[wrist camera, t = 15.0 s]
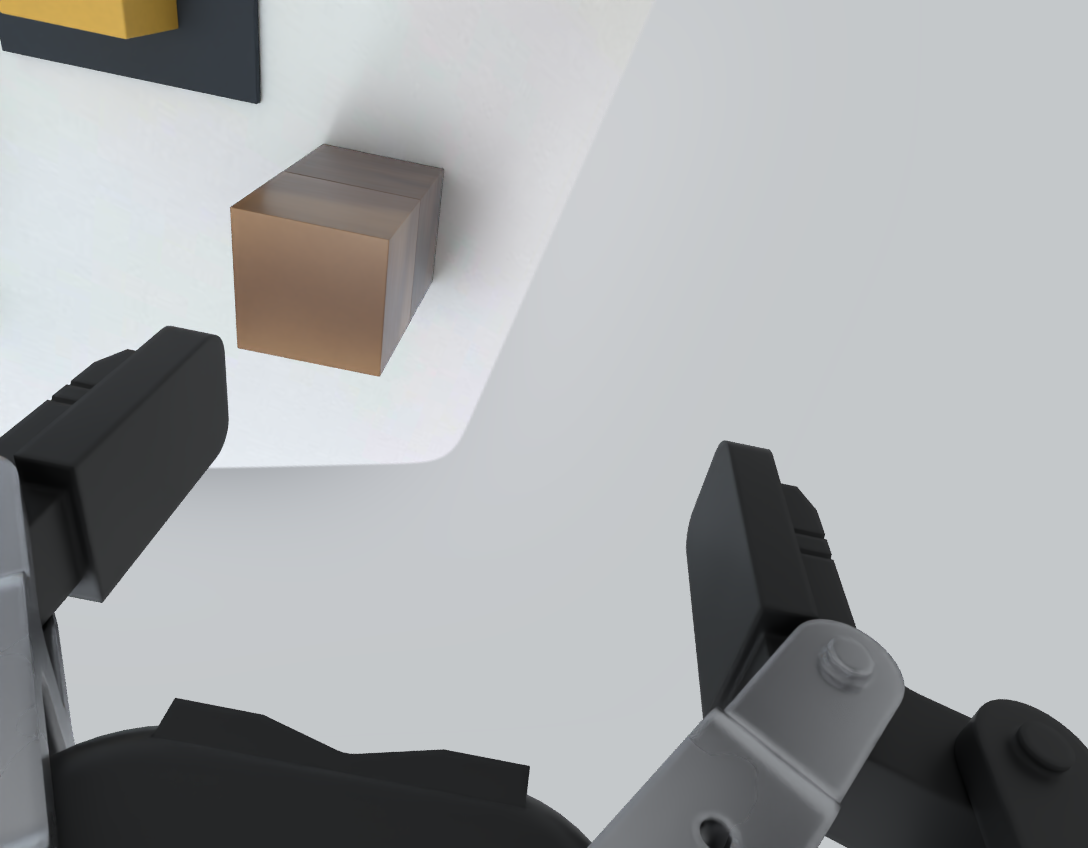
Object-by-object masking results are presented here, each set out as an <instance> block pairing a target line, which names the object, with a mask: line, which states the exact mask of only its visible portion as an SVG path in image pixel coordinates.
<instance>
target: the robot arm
mask: <svg viewBox="0 0 1088 848" xmlns="http://www.w3.org/2000/svg"><path fill="white" fill-rule="evenodd" d="M228 421H229V417H228V400H227V383H226V367H225V352H224V345H223V342H222V340H221V338H220V337H219V336H217V335H213V334H208V333H203V332H198V331H193V330H188V329H184V328H179V327H174V326H166V327H164V328H163V329H161V330H160V331H159V332H158V333H157V334H155V335H154V336H153V337H152V338H151V339H149V340H148V341H147V342H146V343H145V344H144V345H142V346H141V347H140V348H139V349H138V350H136V351H134V350H129V349H127V350H124V351H122V352H119V353H117V354H114V355H112V356H109V357H106V358H104V359H101V360H99V361H96V362H94V363H93V364H91V365H90V366H89V367H88V368H86V369H85V370H84V371H83V372H82V373H80V374H79V375H78V376H77V377H75V378H74V379H73V380H72V381H71V384H70V385H65V386H64V387H63V388H62V389H60V390H59V391H58V392H57V393H55V394H54V395H53V396H52V400H51V401H50V400H47V401H45V402H44V403H43V404H42V405H40V406H39V407H38V408H37V409H35V410H34V411H33V412H32V413H30V414H29V415H28V416H27V417H25V418H24V419H23V420H22V421H20V422H19V423H18V424H17V425H15V426H14V427H13V428H12V429H10V430H9V431H8V432H7V433H5V434H4V435H3V436H2V437H0V848H818V846H819V845H820V843H821V841H822V840H823V838H824V836H826V837H828V838H830V839H832V840H834V841H836V842H838V843H840V844H841V845H843V846H845V847H847V848H1088V749H1087V747H1086V746H1085V745H1084V744H1083V743H1082V742H1081V741H1080V740H1079V739H1078V738H1077V737H1076V736H1075V735H1074V734H1073V733H1072V732H1071V731H1070V730H1069V729H1067V728H1066V727H1065V726H1063V725H1062V724H1061V723H1060V722H1058V721H1057V720H1055V719H1054V718H1052V717H1051V716H1049V715H1048V714H1046V713H1044V712H1042V711H1040V710H1038V709H1036V708H1034V707H1032V706H1029V705H1027V704H1024V703H1020V702H1017V701H1012V700H1003V699H998V700H992V701H989V702H987V703H985V704H984V705H983V706H982V707H981V708H980V709H979V710H978V711H977V712H976V714H975V715H974V716H973V717H972V718H970V717H968V716H966V715H963V714H961V713H959V712H957V711H954V710H952V709H950V708H948V707H946V706H944V705H941V704H939V703H937V702H935V701H932V700H931V699H928V698H926V697H924V696H922V695H920V694H918V693H916V692H914V691H912V690H910V689H909V688H907V687H905V686H904V680H903V677H902V674H901V671H900V670H899V668H898V666H897V664H896V662H895V661H894V660H893V658H892V657H891V656H890V654H889V653H887V651H886V650H885V649H884V648H883V647H882V646H881V645H880V644H879V643H878V642H876V641H875V640H874V639H872V638H871V637H869V636H868V635H867V634H865V633H863V632H862V631H860V630H858V629H856V626H855V623H854V620H853V617H852V614H851V611H850V608H849V605H848V602H847V599H846V596H845V593H844V591H843V587H842V584H841V581H840V578H839V575H838V572H837V569H836V566H835V563H834V560H831V555H832V554H831V551H830V548H829V545H828V542H827V540H826V539H824V536H825V533H824V530H823V527H822V524H821V522H820V518H819V516H818V513H817V510H816V509H815V508H814V507H813V505H812V504H811V503H810V502H809V501H808V500H807V498H806V497H805V496H804V495H803V494H802V492H801V491H800V490H799V489H798V487H796V486H790V485H786V484H781V482H780V479H779V475H778V472H777V469H776V465H775V461H774V458H773V455H772V452H771V451H770V450H769V449H764V448H759V447H754V446H749V445H744V444H740V443H735V442H730V441H722V442H721V443H720V444H719V446H718V448H717V450H716V452H715V455H714V457H713V460H712V462H711V465H710V468H709V470H708V473H707V475H706V478H705V481H704V483H703V486H702V489H701V491H700V494H699V496H698V499H697V501H696V504H695V507H694V510H693V512H692V515H691V519H690V522H689V527H688V532H687V541H686V553H687V563H688V573H689V583H690V592H691V603H692V613H693V622H694V633H695V643H696V652H697V662H698V672H699V682H700V692H701V702H702V712H703V720H702V721H701V722H700V723H699V724H698V725H697V726H696V728H695V729H694V730H693V731H692V732H691V733H690V734H689V735H688V736H687V738H686V739H685V740H684V741H683V742H682V743H681V744H680V745H679V746H678V748H677V749H676V750H675V751H674V752H673V753H672V754H671V755H670V757H669V758H668V759H667V760H666V761H665V762H664V763H663V764H662V766H660V768H659V769H658V770H657V771H656V772H655V773H654V774H653V775H652V776H651V778H650V779H649V780H648V781H647V782H646V783H645V784H644V785H643V786H642V788H641V789H640V790H639V791H638V792H637V793H636V794H635V795H634V796H633V798H632V799H631V800H630V801H629V802H628V803H627V804H626V805H625V806H624V808H623V809H622V810H621V811H620V812H619V813H618V814H617V815H616V816H615V818H614V819H613V820H612V821H611V822H610V823H609V824H608V825H607V826H606V828H605V829H604V830H603V831H602V832H601V833H600V834H599V835H598V836H597V838H596V839H595V840H594V841H593V842H591V841H590V840H589V839H588V838H587V837H586V836H585V835H584V834H583V833H582V832H581V831H580V830H579V829H578V828H577V827H576V826H574V825H573V824H572V823H571V822H569V821H568V820H567V819H566V818H565V817H563V816H562V815H561V814H559V813H558V812H556V811H555V810H553V809H552V808H550V807H549V806H547V805H546V804H544V803H542V802H541V801H539V800H537V799H535V798H533V797H531V796H529V795H527V787H528V777H529V770H530V766H527V765H521V764H516V763H511V762H506V761H501V760H495V759H490V758H485V757H480V756H474V755H469V754H464V753H459V752H454V751H449V750H426V751H406V752H386V753H368V754H367V753H366V754H348V753H343V752H340V751H337V750H335V749H333V748H331V747H329V746H327V745H325V744H323V743H321V742H319V741H316V740H314V739H312V738H310V737H308V736H306V735H304V734H302V733H300V732H298V731H296V730H294V729H292V728H290V727H287V726H285V725H283V724H281V723H279V722H277V721H275V720H273V719H271V718H269V717H267V716H265V715H261V714H256V713H251V712H246V711H240V710H235V709H230V708H225V707H220V706H215V705H210V704H204V703H199V702H194V701H189V700H183V699H178V698H175V699H174V701H173V702H172V704H171V706H170V707H169V709H168V711H167V713H166V714H165V716H164V718H163V719H162V721H161V723H160V725H159V726H148V727H142V728H135V729H129V730H123V731H119V732H115V733H111V734H107V735H103V736H99V737H96V738H94V739H91V740H88V741H85V742H82V743H79V744H76V745H75V743H74V737H73V732H72V726H71V718H70V711H69V704H68V697H67V689H66V682H65V674H64V667H63V660H62V653H61V645H60V638H59V631H58V624H57V621H56V617H55V613H54V612H55V611H56V610H57V608H58V607H59V606H60V605H61V604H62V602H63V601H64V600H65V599H66V598H67V596H70V597H75V598H80V599H85V600H90V601H96V602H100V603H102V602H103V601H104V600H105V599H106V597H107V596H108V595H109V593H110V592H111V591H112V590H113V588H114V587H115V586H116V585H117V583H118V582H119V581H120V580H121V578H122V577H123V576H124V574H125V573H126V572H127V571H128V569H129V568H130V567H131V566H132V564H133V563H134V562H135V560H136V559H137V558H138V557H139V555H140V554H141V553H142V552H143V550H144V549H145V548H146V546H147V545H148V544H149V543H150V541H151V540H152V539H153V537H154V536H155V535H156V534H157V532H158V531H159V530H160V528H161V527H162V526H163V525H164V524H165V522H166V521H167V520H168V518H169V517H170V516H171V515H172V513H173V512H174V511H175V510H176V508H177V507H178V506H179V504H180V503H181V502H182V501H183V499H184V498H185V497H186V495H187V494H188V493H189V492H190V490H191V489H192V488H193V486H194V485H195V484H196V483H197V481H198V480H199V479H200V478H201V476H202V475H203V474H204V473H205V471H206V470H207V469H208V467H209V466H210V465H211V464H212V462H213V461H214V460H215V459H216V457H217V456H218V454H219V453H220V451H221V449H222V447H223V444H224V442H225V438H226V435H227V430H228Z"/></svg>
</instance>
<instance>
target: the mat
mask: <svg viewBox="0 0 1088 848" xmlns="http://www.w3.org/2000/svg"><path fill="white" fill-rule="evenodd" d="M176 3H177V15H178V29H174V30H169V31H164V32H159V33H154V34H149V35H144V36H139V37H134V38H129V39H122V38H118V37H113V36H108V35H103V34H99V33H94V32H89V31H84V30H80V29H75V28H70V27H65V26H61V25H56V24H51V23H46V22H42V21H37V20H32V19H27V18H23V17H18V16H13V15H8V14H4V13H1V12H0V40H1V45H2V50H3V51H7V52H12V53H17V54H21V55H26V56H31V57H36V58H40V59H45V60H50V61H55V62H59V63H64V64H69V65H74V66H79V67H83V68H88V69H93V70H98V71H102V72H107V73H112V74H117V75H121V76H126V77H131V78H136V79H140V80H145V81H150V82H155V83H159V84H164V85H169V86H174V87H178V88H183V89H188V90H193V91H197V92H202V93H207V94H212V95H217V96H221V97H226V98H231V99H236V100H240V101H245V102H250V103H255V104H258V103H260V73H259V37H258V0H176Z"/></svg>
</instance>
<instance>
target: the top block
mask: <svg viewBox="0 0 1088 848" xmlns="http://www.w3.org/2000/svg"><path fill="white" fill-rule="evenodd" d="M0 12H1V13H4V14H8V15H13V16H18V17H23V18H27V19H32V20H37V21H42V22H46V23H51V24H56V25H61V26H65V27H70V28H75V29H80V30H84V31H89V32H94V33H99V34H103V35H108V36H113V37H118V38H122V39H129V38H134V37H139V36H144V35H149V34H154V33H159V32H164V31H169V30H174V29H178V15H177V3H176V0H0Z"/></svg>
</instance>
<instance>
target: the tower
mask: <svg viewBox="0 0 1088 848" xmlns="http://www.w3.org/2000/svg"><path fill="white" fill-rule="evenodd" d="M443 175H444V170H443V169H440V168H436V167H431V166H426V165H421V164H417V163H412V162H407V161H402V160H397V159H393V158H388V157H383V156H378V155H374V154H369V153H364V152H359V151H354V150H350V149H345V148H340V147H335V146H331V145H326V144H322V145H321V146H319V147H318V148H317V149H315V150H314V151H312V152H311V153H309V154H308V155H306V156H305V157H303V158H302V159H300V160H299V161H298V162H296V163H295V164H293V165H292V166H290V167H289V168H287V169H286V170H284V171H283V172H281V173H280V174H278V175H277V176H275V177H274V178H272V179H271V180H269V181H268V182H266V183H265V184H263V185H262V186H261V187H259V188H258V189H256V190H255V191H253V192H252V193H250V194H249V195H247V196H246V197H244V198H243V199H242V200H240V201H239V202H237V203H236V204H234V205H233V206H231V207H230V212H231V231H232V251H233V270H234V289H235V309H236V328H237V347H238V348H240V349H245V350H250V351H255V352H260V353H265V354H270V355H275V356H280V357H285V358H290V359H295V360H300V361H305V362H309V363H314V364H319V365H324V366H329V367H334V368H339V369H344V370H349V371H354V372H359V373H364V374H369V375H374V376H380V375H381V373H382V372H383V370H384V368H385V366H386V364H387V363H388V361H389V359H390V357H391V355H392V354H393V352H394V350H395V348H396V346H397V345H398V343H399V341H400V339H401V337H402V336H403V334H404V332H405V330H406V328H407V327H408V325H409V323H410V321H411V319H412V317H413V315H414V314H415V312H416V310H417V308H418V306H419V305H420V303H421V301H422V299H423V297H424V296H425V294H426V292H427V290H428V288H429V287H430V285H431V283H432V280H433V270H434V261H435V251H436V242H437V232H438V222H439V213H440V203H441V194H442V184H443Z"/></svg>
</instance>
